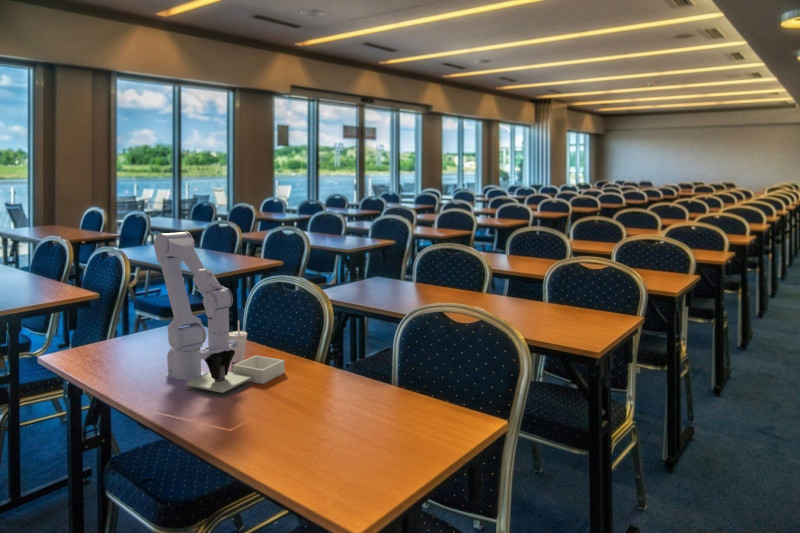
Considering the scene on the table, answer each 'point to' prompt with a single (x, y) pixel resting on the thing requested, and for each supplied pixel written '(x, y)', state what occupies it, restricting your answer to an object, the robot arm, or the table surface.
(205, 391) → the mat
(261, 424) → the table surface
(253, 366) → the dish
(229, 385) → the lid
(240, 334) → the smoothie
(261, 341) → the table surface
